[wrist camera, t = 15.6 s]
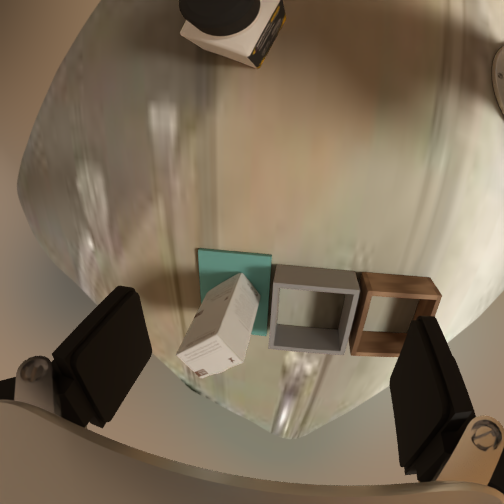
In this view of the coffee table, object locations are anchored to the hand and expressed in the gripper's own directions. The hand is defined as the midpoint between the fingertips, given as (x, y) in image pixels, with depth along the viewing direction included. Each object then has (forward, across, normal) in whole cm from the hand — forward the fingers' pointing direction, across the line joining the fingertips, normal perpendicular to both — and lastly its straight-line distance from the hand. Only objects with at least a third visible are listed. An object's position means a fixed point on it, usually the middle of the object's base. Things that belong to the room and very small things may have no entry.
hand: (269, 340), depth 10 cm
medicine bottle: (+26, +6, -17) cm, 32 cm away
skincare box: (+25, +8, +15) cm, 30 cm away
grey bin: (+26, -2, +15) cm, 30 cm away
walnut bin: (+26, -13, +16) cm, 33 cm away
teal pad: (+26, +8, +15) cm, 31 cm away
